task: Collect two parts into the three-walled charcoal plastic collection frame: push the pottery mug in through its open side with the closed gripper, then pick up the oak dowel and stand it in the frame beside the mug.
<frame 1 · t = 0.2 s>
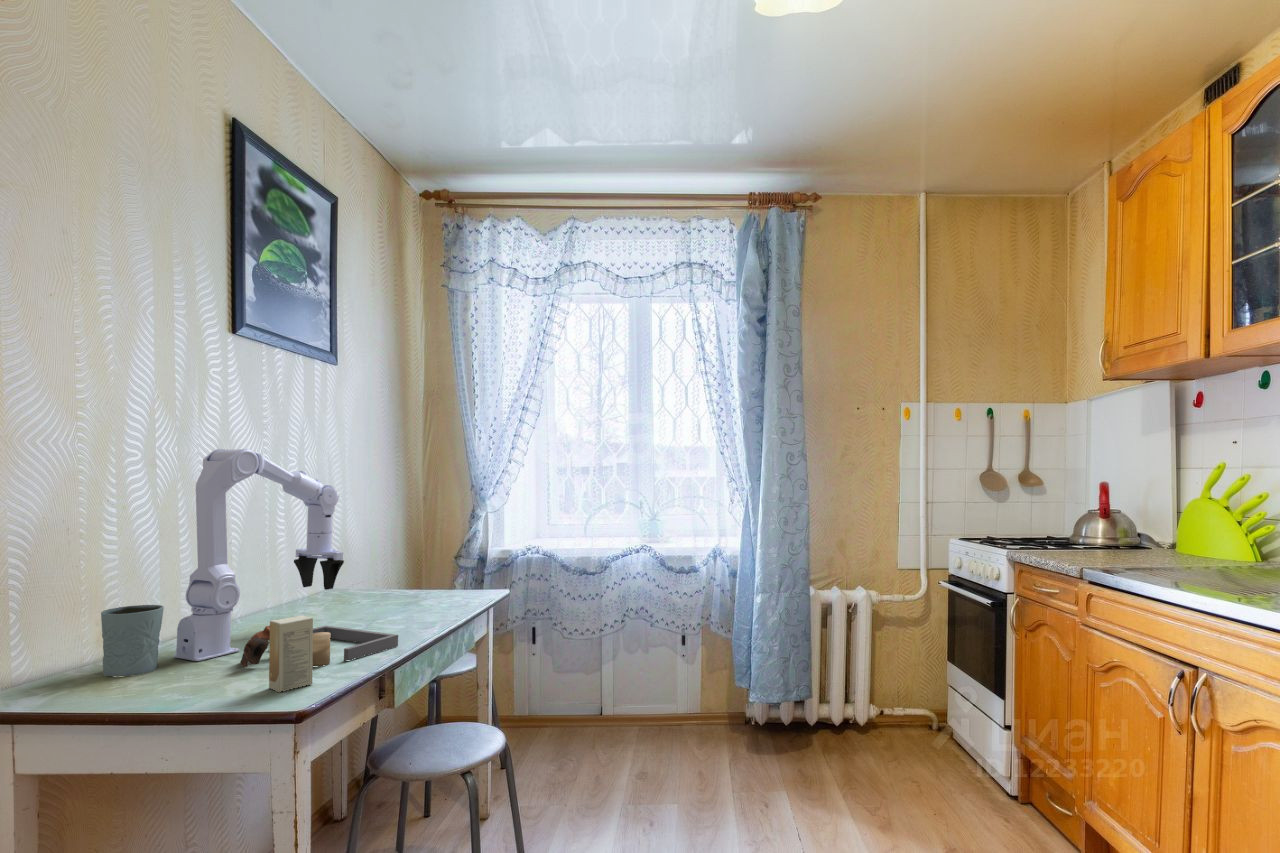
hand: (317, 587, 178), 10 cm above the table, tool pointing down, fingers open, 7 cm apart
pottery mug: (265, 664, 145), on the table
oak dowel: (319, 664, 145), on the table
collection frame: (335, 648, 158), on the table
grey green plant pot: (130, 671, 140), on the table
skincare box: (289, 687, 130), on the table
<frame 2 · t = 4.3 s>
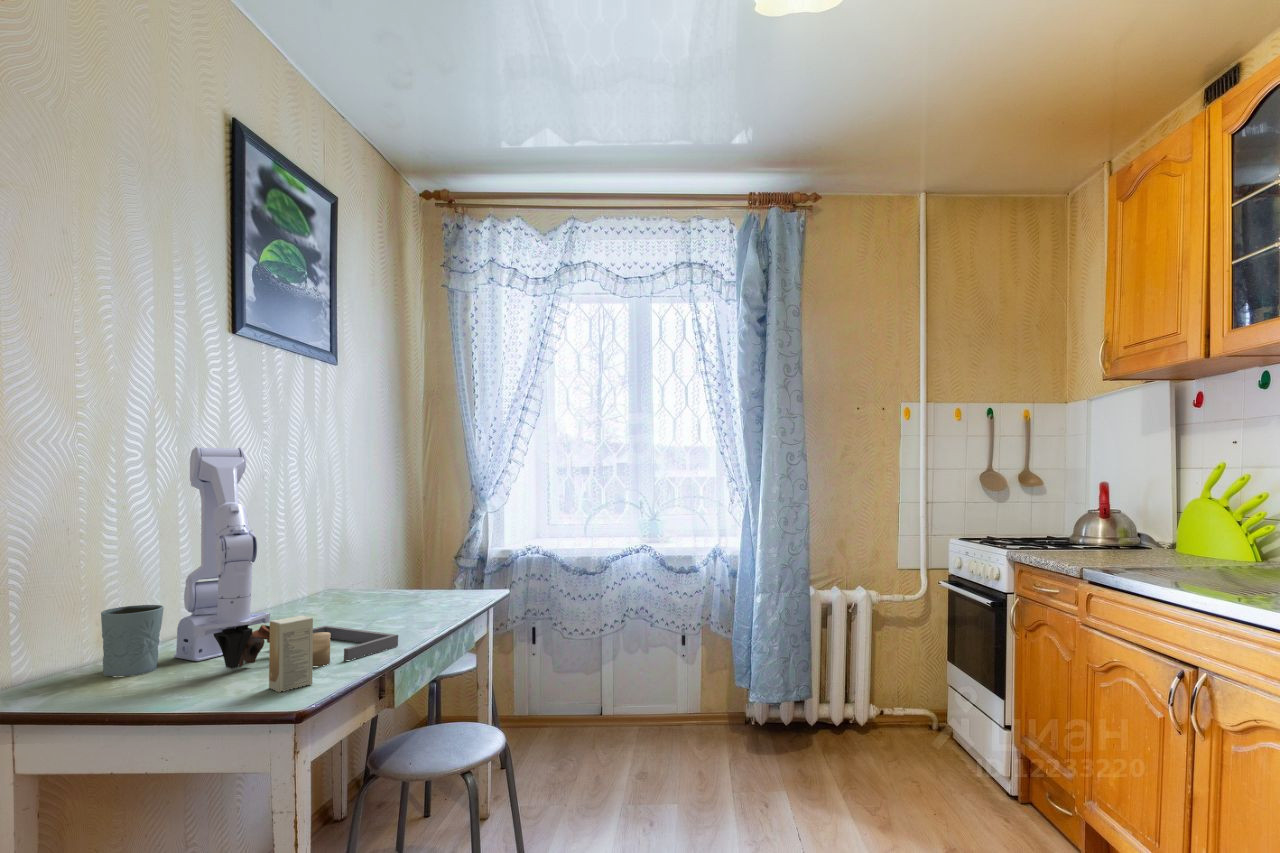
hand: (231, 667, 139), 1 cm above the table, tool pointing down, fingers closed
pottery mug: (260, 663, 146), on the table, touching gripper
everything else where it was.
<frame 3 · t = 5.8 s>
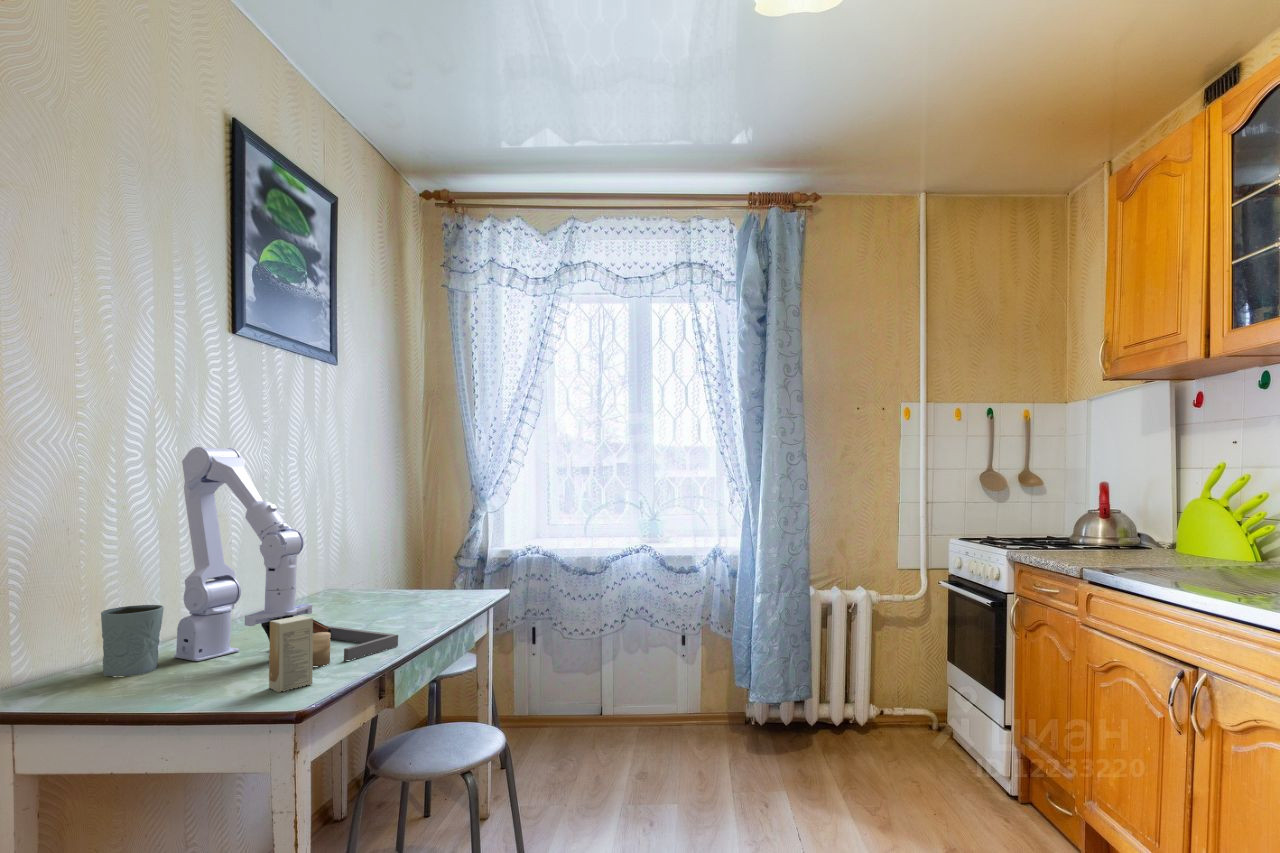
hand: (278, 654, 148), 1 cm above the table, tool pointing down, fingers closed
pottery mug: (302, 651, 155), on the table, touching gripper
everything else where it was.
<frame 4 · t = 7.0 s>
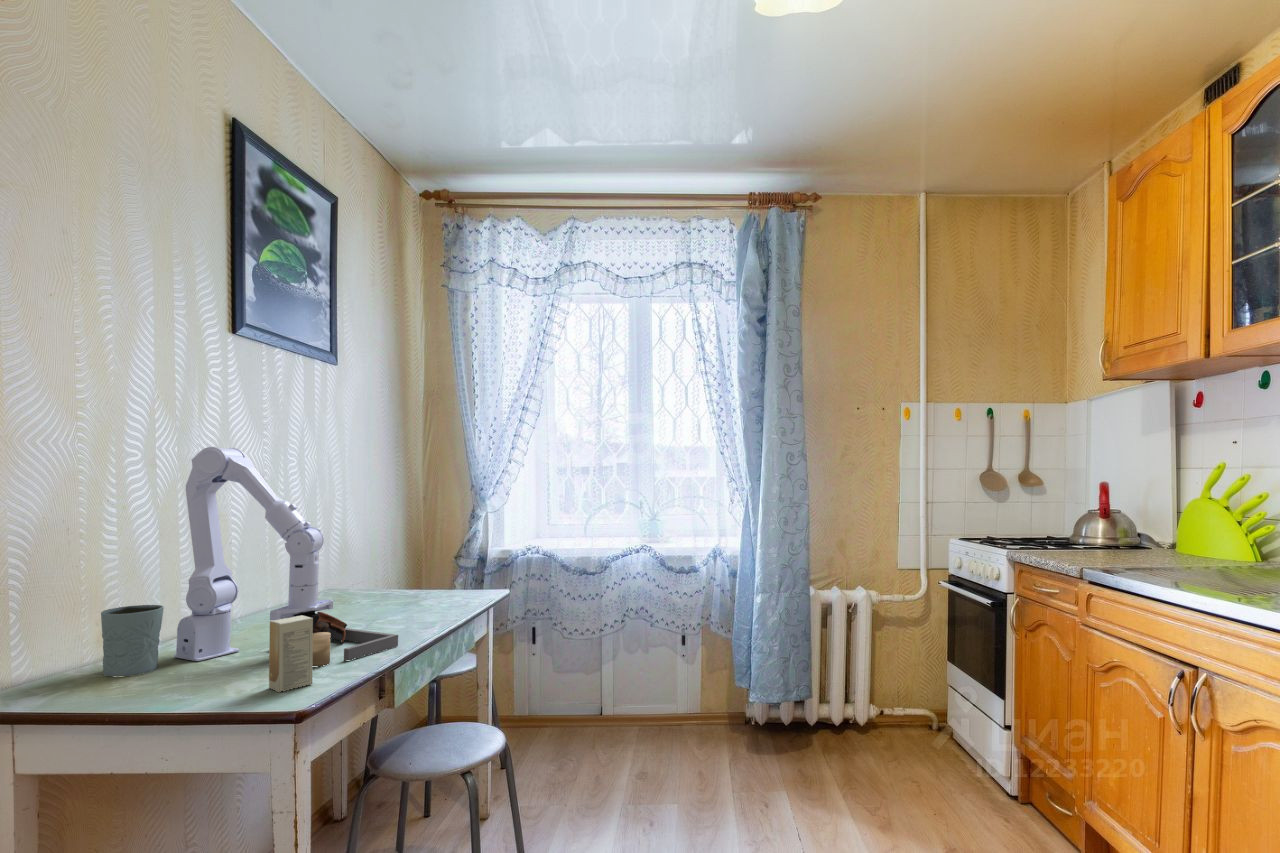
hand: (301, 648, 153), 1 cm above the table, tool pointing down, fingers closed
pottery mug: (320, 646, 160), on the table, touching collection frame, gripper
everything else where it was.
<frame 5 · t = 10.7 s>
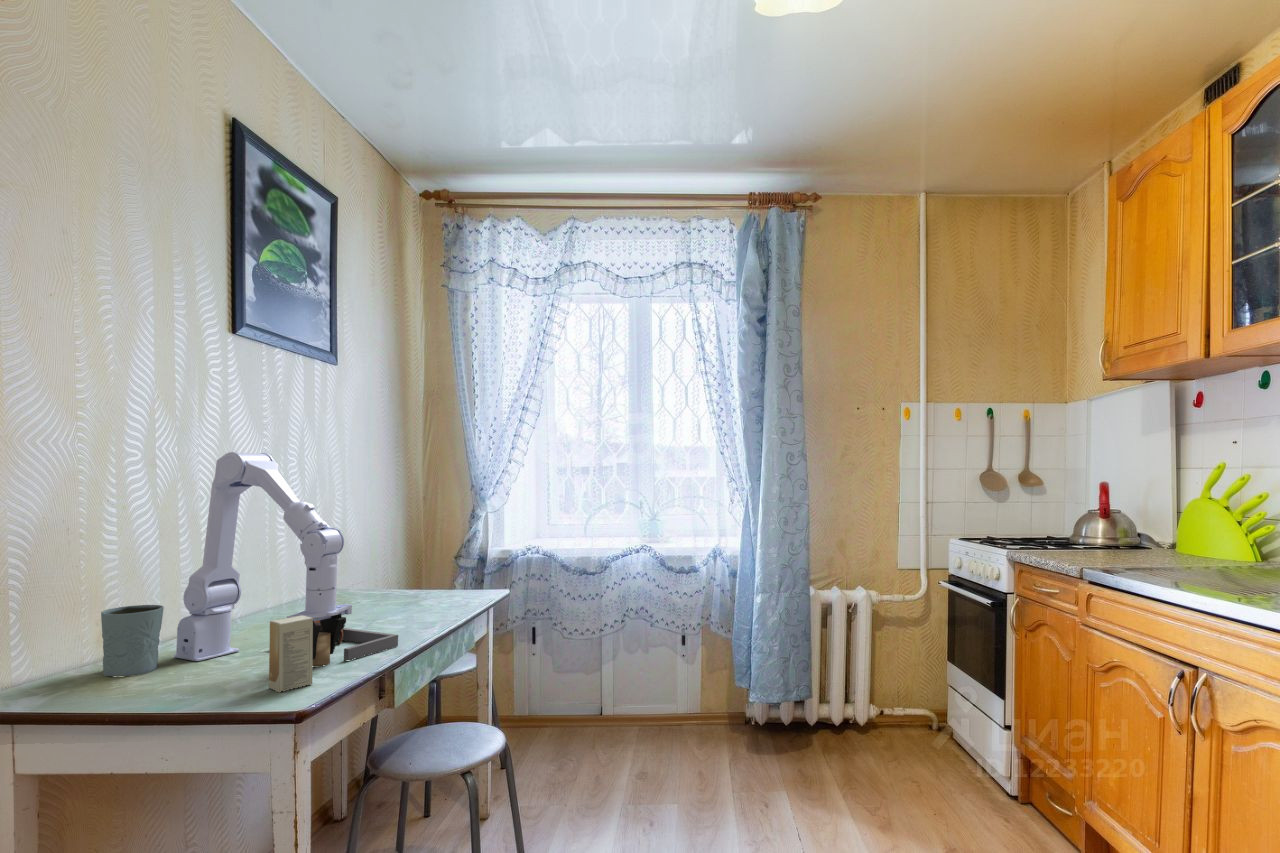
hand: (319, 656, 145), 2 cm above the table, tool pointing down, fingers closed on oak dowel, 4 cm apart
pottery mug: (318, 647, 160), on the table
oak dowel: (319, 664, 145), on the table, touching gripper
everything else where it was.
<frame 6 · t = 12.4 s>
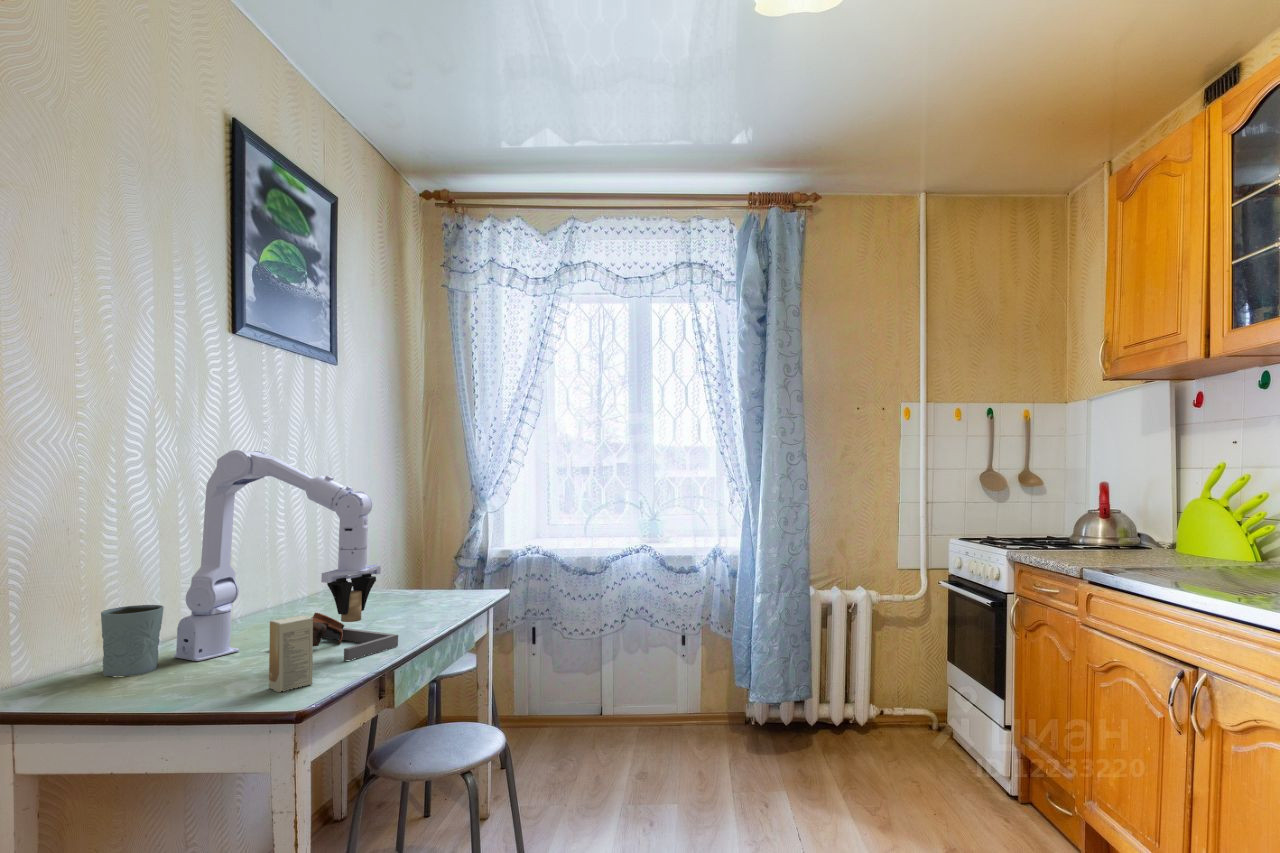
hand: (351, 612, 153), 9 cm above the table, tool pointing down, fingers closed on oak dowel, 4 cm apart
oak dowel: (351, 620, 153), point 7 cm above the table, touching gripper
everything else where it was.
when the fingers open (3 cm above the table, at t = 13.9 s): oak dowel drops 1 cm, on the table.
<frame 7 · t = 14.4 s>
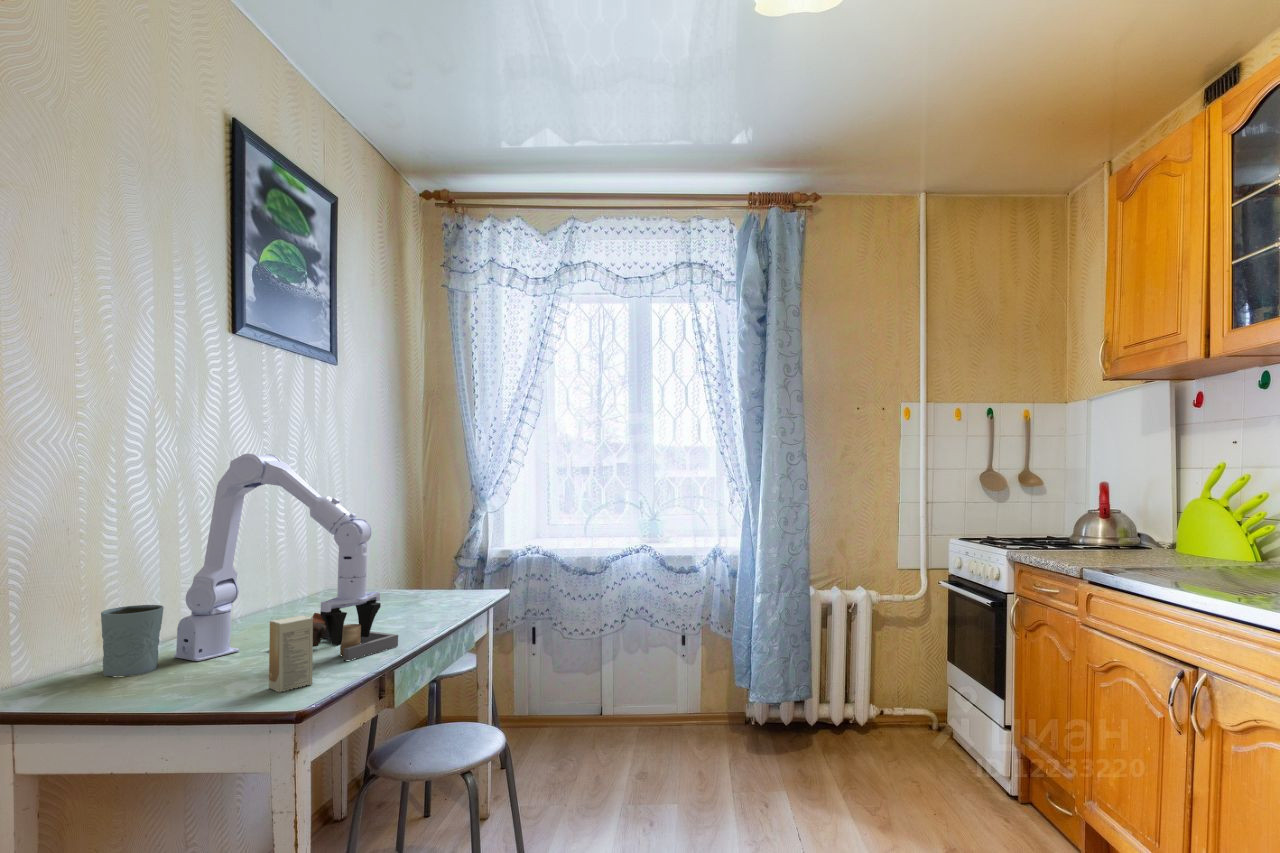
hand: (350, 640, 153), 3 cm above the table, tool pointing down, fingers open, 7 cm apart
oak dowel: (350, 654, 153), on the table
everything else where it was.
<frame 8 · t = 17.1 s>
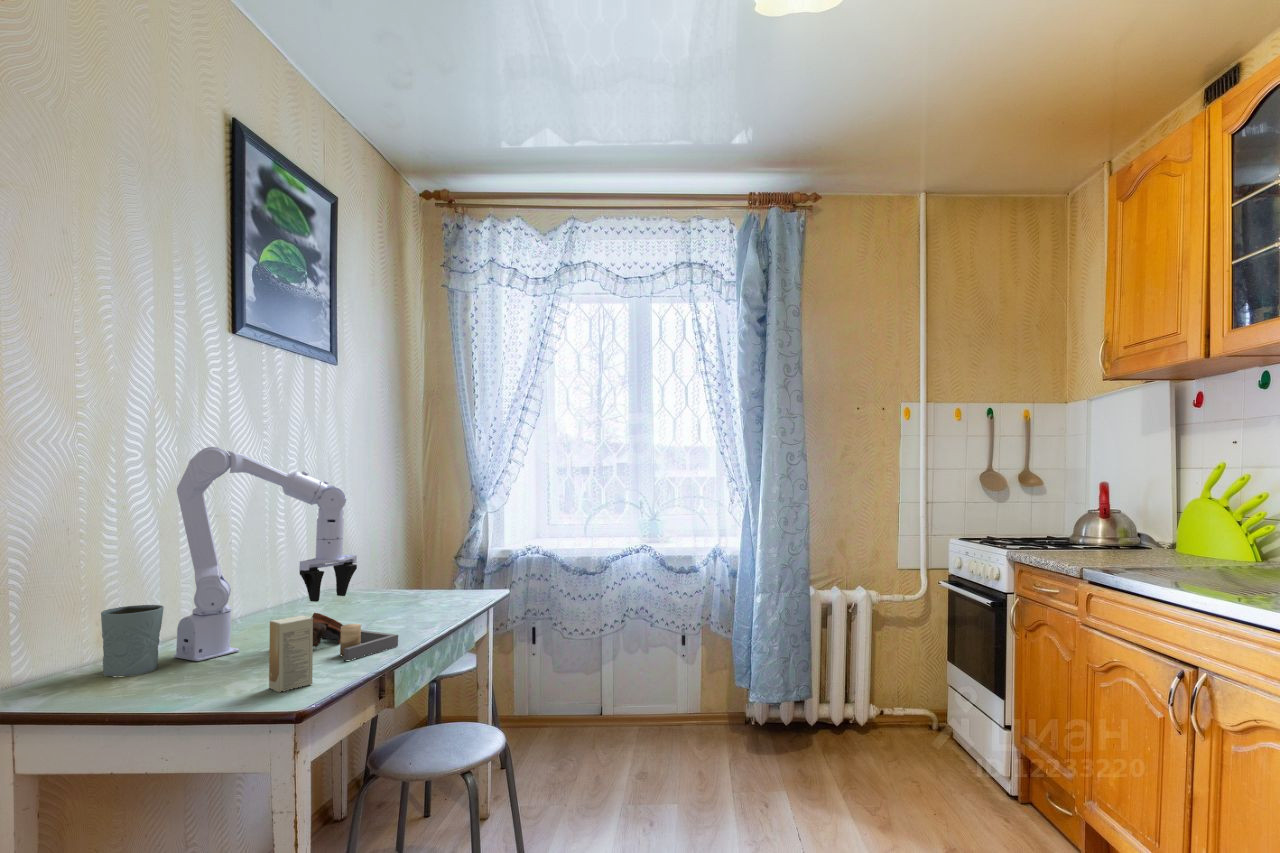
hand: (328, 598, 164), 10 cm above the table, tool pointing down, fingers open, 7 cm apart
nothing on the table moved.
at the end: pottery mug inside the target area (4.6 cm from its centre), on the table; oak dowel inside the target area (7.4 cm from its centre), on the table; oak dowel tilted 0° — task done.
